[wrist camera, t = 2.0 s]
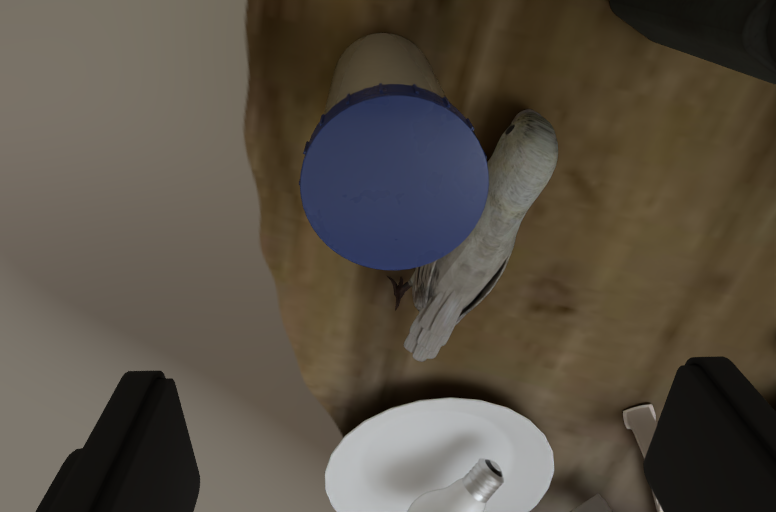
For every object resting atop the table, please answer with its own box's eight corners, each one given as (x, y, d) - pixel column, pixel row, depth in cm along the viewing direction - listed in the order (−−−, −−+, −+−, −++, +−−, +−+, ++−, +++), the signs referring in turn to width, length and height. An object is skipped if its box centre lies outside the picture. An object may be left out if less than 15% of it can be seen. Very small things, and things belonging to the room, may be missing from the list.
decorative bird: (565, 125, 34) (610, 168, 28) (440, 306, 42) (453, 373, 35) (495, 86, 33) (525, 122, 27) (378, 281, 40) (380, 346, 34)
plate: (309, 391, 45) (306, 411, 43) (556, 368, 45) (564, 388, 43) (340, 533, 56) (340, 554, 54) (540, 515, 56) (546, 536, 54)
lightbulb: (481, 474, 42) (396, 572, 43) (538, 507, 44) (454, 600, 45) (458, 425, 48) (383, 513, 49) (509, 456, 50) (435, 539, 51)
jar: (444, 45, 32) (501, 121, 19) (419, 144, 35) (452, 269, 22) (341, 22, 31) (323, 83, 18) (325, 125, 34) (299, 243, 21)
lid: (505, 103, 19) (517, 115, 18) (453, 263, 23) (459, 284, 21) (318, 62, 18) (314, 72, 17) (292, 235, 22) (287, 256, 20)
